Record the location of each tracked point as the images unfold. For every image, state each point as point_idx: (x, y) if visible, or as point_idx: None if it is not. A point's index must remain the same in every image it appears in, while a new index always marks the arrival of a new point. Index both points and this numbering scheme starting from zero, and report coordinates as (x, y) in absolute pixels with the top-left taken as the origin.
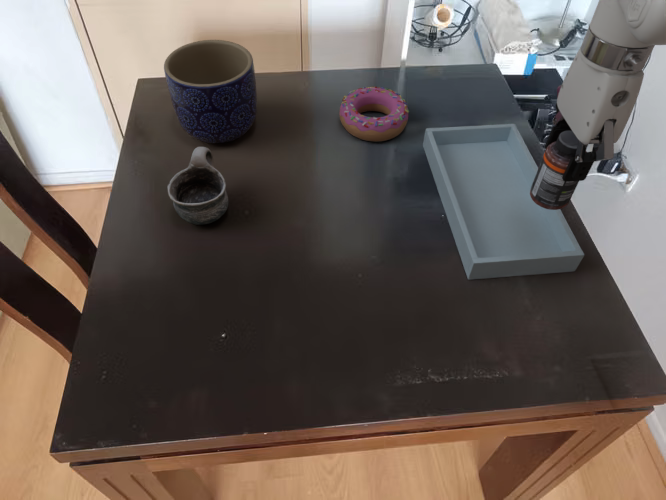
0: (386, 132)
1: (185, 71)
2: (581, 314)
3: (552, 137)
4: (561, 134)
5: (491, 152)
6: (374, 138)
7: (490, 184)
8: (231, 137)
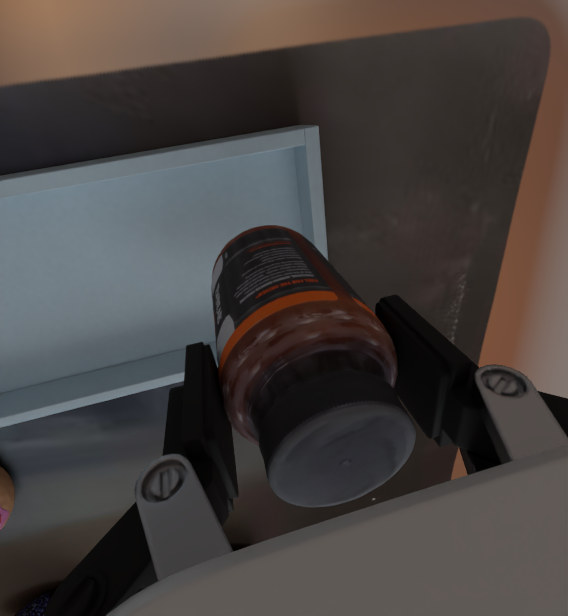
0: None
1: None
2: (398, 139)
3: (234, 458)
4: (306, 503)
5: None
6: (9, 484)
7: (64, 283)
8: None
